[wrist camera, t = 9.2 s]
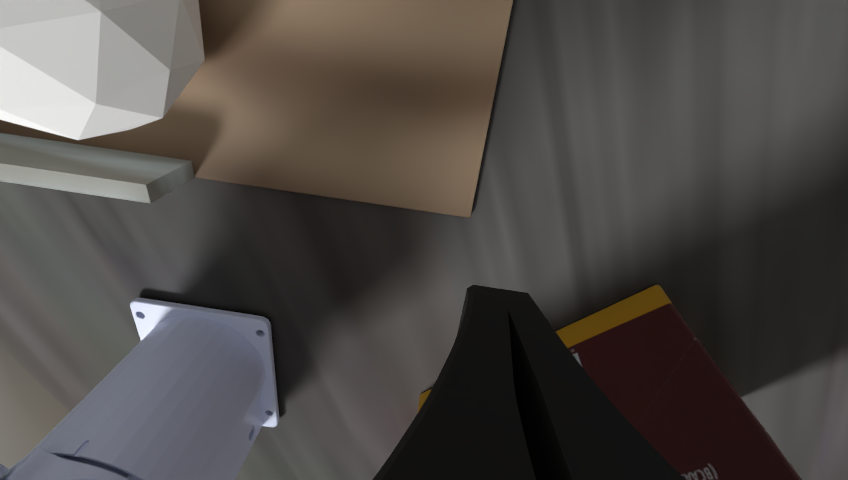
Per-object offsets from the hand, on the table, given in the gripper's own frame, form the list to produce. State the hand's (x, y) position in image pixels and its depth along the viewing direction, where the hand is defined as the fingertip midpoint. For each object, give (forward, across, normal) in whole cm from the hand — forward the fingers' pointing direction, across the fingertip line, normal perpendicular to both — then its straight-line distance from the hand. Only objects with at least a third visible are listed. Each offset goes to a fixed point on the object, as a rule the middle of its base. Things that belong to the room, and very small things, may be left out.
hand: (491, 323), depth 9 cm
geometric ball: (+10, +14, -5) cm, 18 cm away
